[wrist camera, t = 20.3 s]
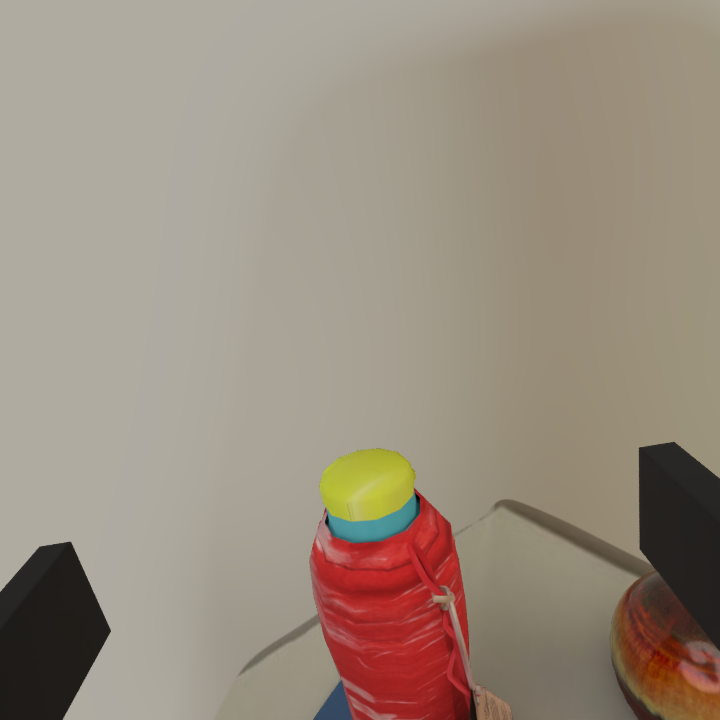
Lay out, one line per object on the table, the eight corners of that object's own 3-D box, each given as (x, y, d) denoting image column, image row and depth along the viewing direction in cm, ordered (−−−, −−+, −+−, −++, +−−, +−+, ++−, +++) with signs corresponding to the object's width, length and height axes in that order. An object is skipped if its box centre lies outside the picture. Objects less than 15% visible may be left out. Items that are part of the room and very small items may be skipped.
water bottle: (585, 863, 28) (559, 477, 20) (494, 1012, 24) (414, 596, 16) (430, 712, 38) (369, 408, 30) (344, 800, 33) (246, 471, 25)
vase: (853, 819, 28) (896, 603, 23) (631, 788, 31) (627, 592, 26) (759, 646, 38) (775, 469, 33) (598, 635, 41) (591, 473, 36)
